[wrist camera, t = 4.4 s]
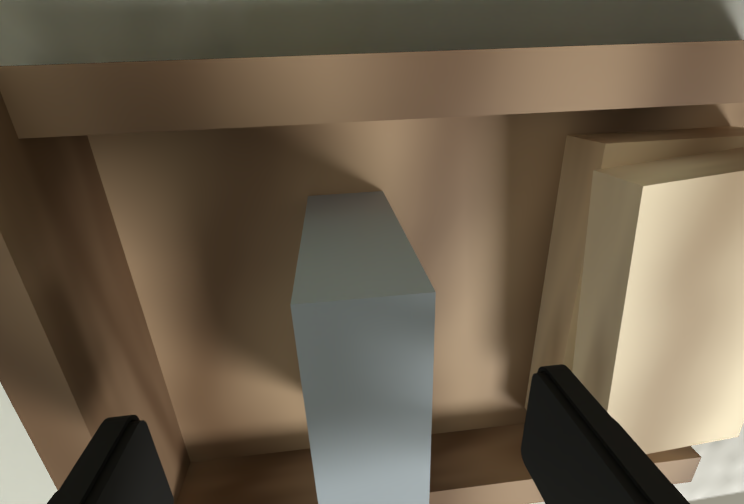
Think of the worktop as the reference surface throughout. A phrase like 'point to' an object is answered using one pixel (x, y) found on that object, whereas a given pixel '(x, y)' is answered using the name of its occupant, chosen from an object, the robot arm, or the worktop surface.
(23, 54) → the worktop surface
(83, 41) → the worktop surface
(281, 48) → the worktop surface
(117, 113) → the brown wooden tray
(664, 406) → the offcut stack
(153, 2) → the worktop surface
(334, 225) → the blue-grey rectangular block
